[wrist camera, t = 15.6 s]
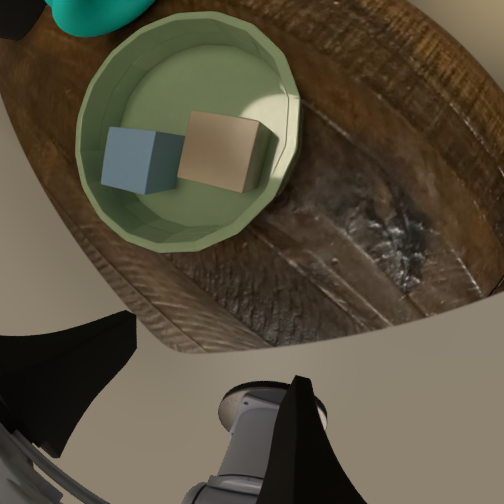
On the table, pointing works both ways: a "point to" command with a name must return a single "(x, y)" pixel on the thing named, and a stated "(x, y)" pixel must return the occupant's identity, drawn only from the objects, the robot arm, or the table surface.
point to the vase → (18, 17)
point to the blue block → (141, 160)
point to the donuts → (96, 15)
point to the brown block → (224, 151)
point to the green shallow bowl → (176, 122)
